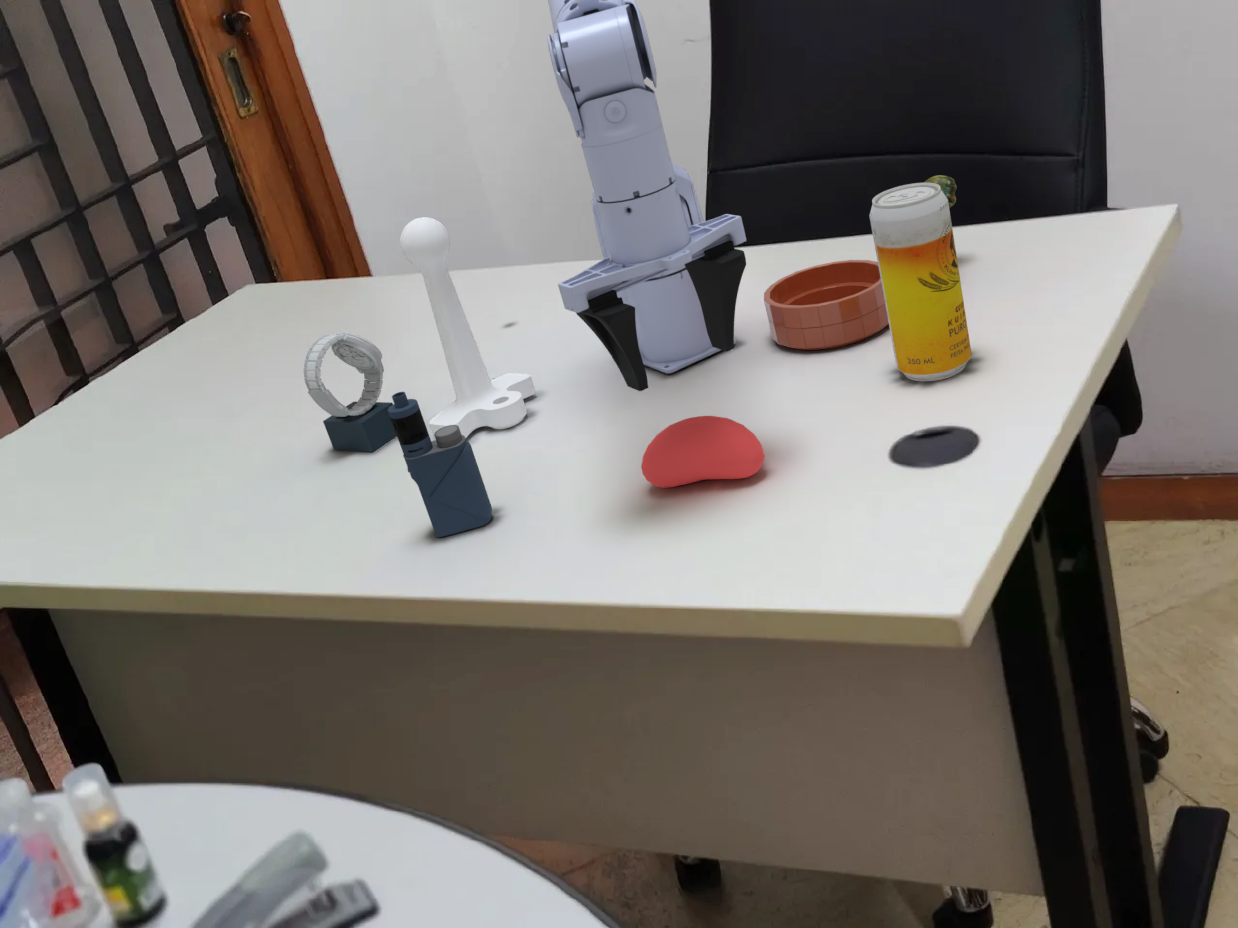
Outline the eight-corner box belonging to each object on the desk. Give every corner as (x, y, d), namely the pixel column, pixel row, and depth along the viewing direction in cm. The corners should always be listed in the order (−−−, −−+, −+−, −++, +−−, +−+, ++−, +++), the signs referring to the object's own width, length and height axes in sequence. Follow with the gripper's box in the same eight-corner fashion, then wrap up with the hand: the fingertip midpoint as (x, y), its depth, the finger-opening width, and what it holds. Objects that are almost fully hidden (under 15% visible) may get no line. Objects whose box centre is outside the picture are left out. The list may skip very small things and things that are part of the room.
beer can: (974, 377, 103) (946, 197, 97) (897, 389, 105) (865, 212, 99) (971, 348, 108) (944, 175, 102) (898, 360, 110) (867, 191, 104)
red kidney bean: (688, 471, 104) (637, 425, 101) (777, 430, 99) (725, 380, 96) (679, 520, 101) (625, 474, 98) (770, 481, 96) (716, 431, 93)
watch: (415, 422, 127) (379, 319, 123) (359, 460, 121) (319, 354, 117) (376, 420, 130) (339, 320, 126) (320, 458, 125) (279, 354, 120)
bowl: (749, 340, 124) (739, 296, 122) (844, 296, 128) (835, 253, 126) (823, 363, 114) (814, 315, 112) (923, 315, 118) (915, 268, 116)
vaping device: (432, 526, 104) (384, 393, 99) (495, 509, 104) (449, 375, 99) (430, 541, 102) (381, 405, 97) (494, 523, 102) (448, 386, 97)
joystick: (507, 392, 128) (445, 198, 120) (561, 397, 123) (500, 195, 115) (427, 444, 121) (355, 241, 113) (481, 450, 116) (410, 239, 108)
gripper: (572, 230, 84) (624, 417, 89) (752, 159, 89) (791, 339, 94) (527, 220, 90) (578, 396, 95) (698, 153, 95) (737, 324, 100)
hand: (681, 367), depth 95 cm, fingers open, 7 cm apart
